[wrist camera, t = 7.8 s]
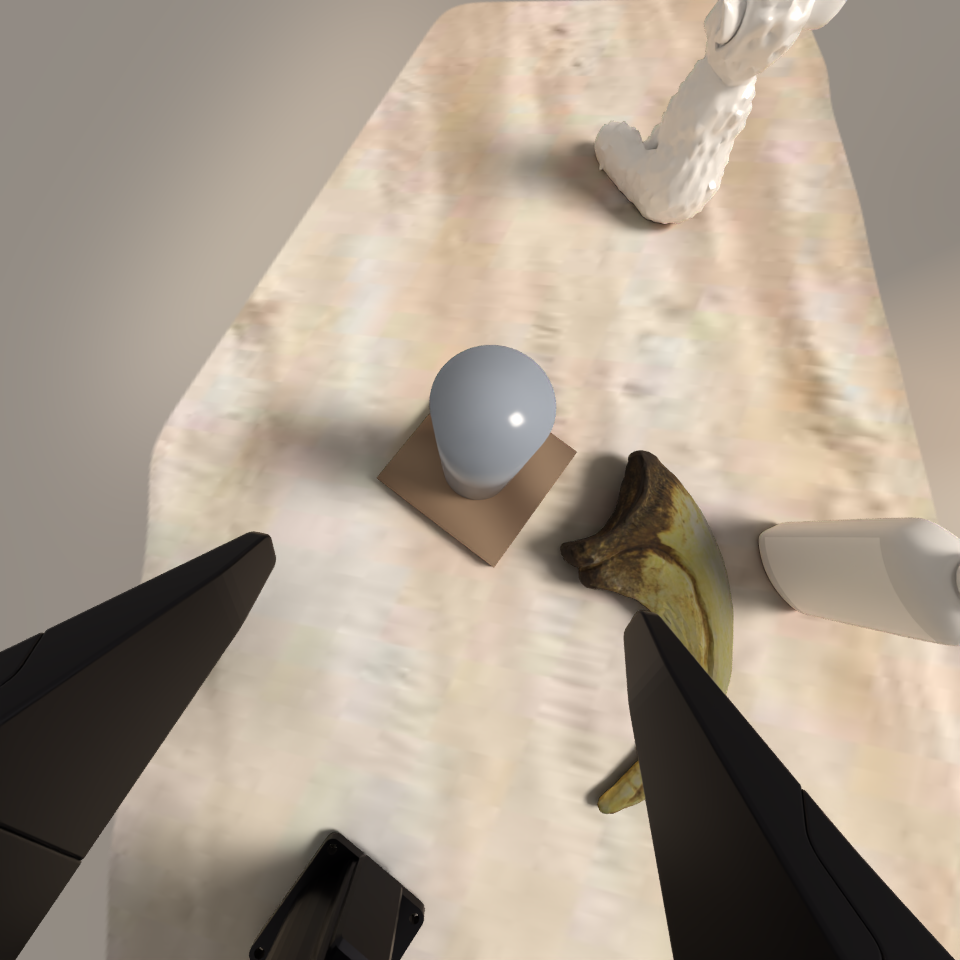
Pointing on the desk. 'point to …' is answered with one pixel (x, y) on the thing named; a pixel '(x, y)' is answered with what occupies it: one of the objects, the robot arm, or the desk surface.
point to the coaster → (468, 520)
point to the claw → (661, 577)
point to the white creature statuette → (705, 108)
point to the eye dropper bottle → (870, 574)
